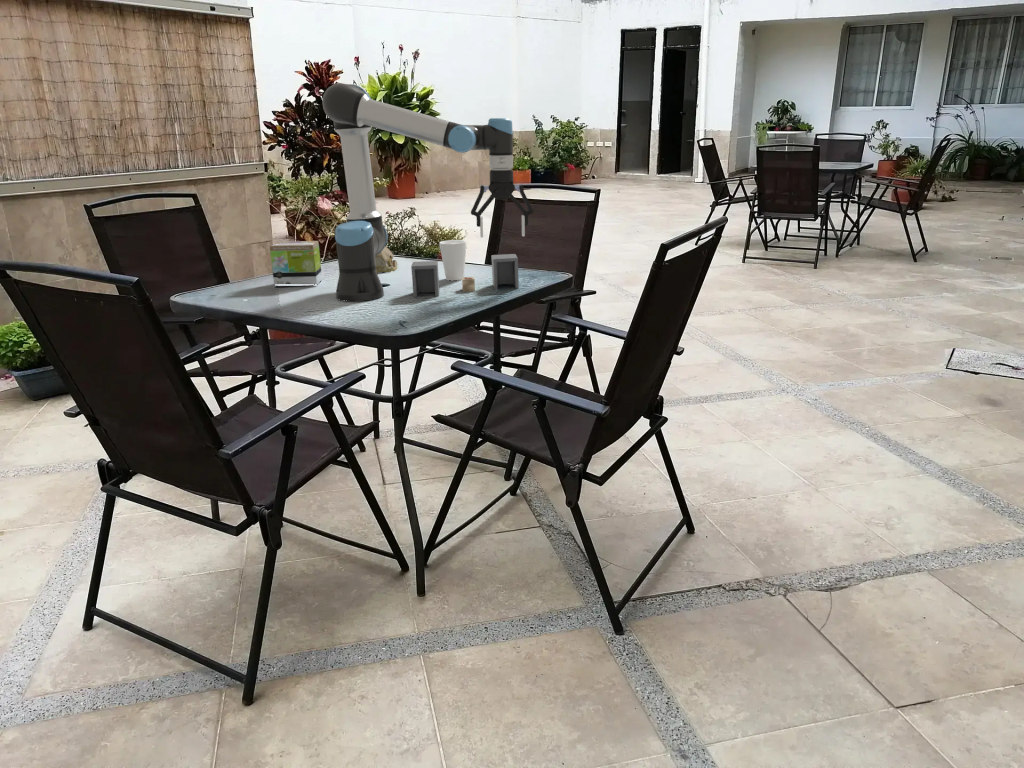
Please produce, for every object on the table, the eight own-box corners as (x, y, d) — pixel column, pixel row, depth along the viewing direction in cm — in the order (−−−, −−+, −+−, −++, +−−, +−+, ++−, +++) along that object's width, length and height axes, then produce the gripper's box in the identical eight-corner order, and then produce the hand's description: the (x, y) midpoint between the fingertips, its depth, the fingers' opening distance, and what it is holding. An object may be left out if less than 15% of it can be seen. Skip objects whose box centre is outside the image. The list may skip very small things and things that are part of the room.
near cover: (413, 297, 249) (411, 266, 245) (415, 292, 256) (412, 261, 253) (438, 296, 249) (436, 265, 246) (439, 291, 257) (437, 260, 253)
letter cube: (462, 291, 255) (462, 279, 253) (462, 289, 259) (462, 276, 257) (475, 291, 255) (474, 278, 254) (474, 288, 259) (474, 276, 257)
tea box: (274, 288, 270) (268, 245, 266) (281, 282, 280) (275, 241, 275) (317, 286, 271) (312, 243, 266) (323, 281, 280) (318, 239, 275)
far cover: (494, 289, 256) (493, 259, 253) (492, 284, 264) (491, 255, 260) (518, 288, 257) (517, 257, 254) (516, 283, 264) (515, 253, 261)
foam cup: (470, 276, 279) (468, 239, 275) (466, 281, 271) (464, 243, 266) (443, 276, 280) (441, 240, 276) (439, 281, 272) (436, 244, 267)
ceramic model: (390, 273, 290) (388, 246, 286) (362, 273, 292) (359, 247, 288) (402, 266, 303) (400, 241, 299) (374, 266, 305) (372, 241, 301)
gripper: (462, 170, 244) (464, 238, 251) (541, 169, 246) (541, 237, 252) (462, 169, 251) (464, 235, 258) (539, 167, 253) (539, 233, 259)
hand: (502, 236), depth 255 cm, fingers open, 13 cm apart
